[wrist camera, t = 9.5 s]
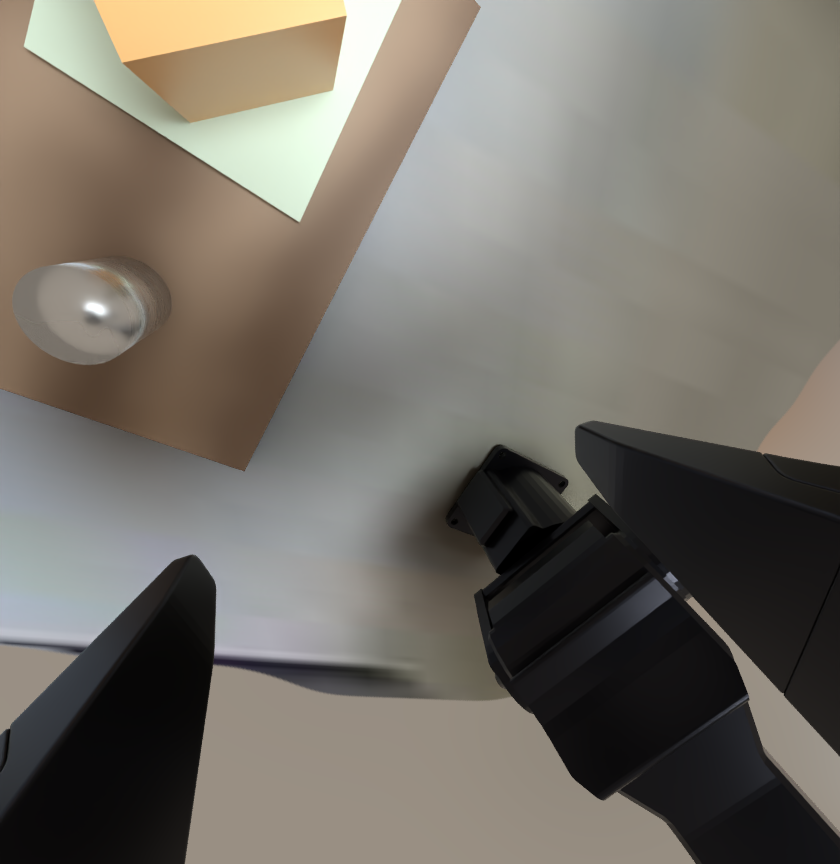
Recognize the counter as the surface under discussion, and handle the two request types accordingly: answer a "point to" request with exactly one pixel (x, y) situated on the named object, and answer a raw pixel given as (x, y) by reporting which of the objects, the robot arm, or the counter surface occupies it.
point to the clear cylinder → (91, 307)
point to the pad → (233, 133)
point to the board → (194, 237)
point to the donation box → (227, 50)
